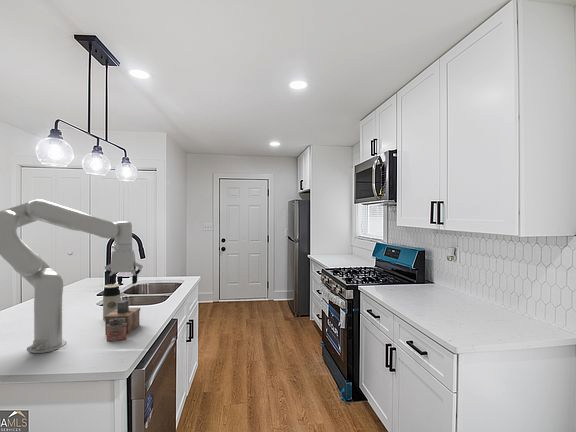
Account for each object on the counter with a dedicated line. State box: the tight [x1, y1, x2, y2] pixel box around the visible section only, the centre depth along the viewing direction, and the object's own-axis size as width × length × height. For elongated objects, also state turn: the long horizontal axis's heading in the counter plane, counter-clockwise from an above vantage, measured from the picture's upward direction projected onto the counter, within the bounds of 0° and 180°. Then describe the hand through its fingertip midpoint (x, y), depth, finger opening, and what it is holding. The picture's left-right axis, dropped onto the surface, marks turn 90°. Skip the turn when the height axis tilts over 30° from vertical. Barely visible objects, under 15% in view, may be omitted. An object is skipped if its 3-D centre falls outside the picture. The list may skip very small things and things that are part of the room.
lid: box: [104, 299, 141, 319], centre depth 161 cm, size 14×11×6 cm
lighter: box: [105, 318, 128, 343], centre depth 148 cm, size 8×3×10 cm, turn 105°
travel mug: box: [102, 283, 121, 321], centre depth 178 cm, size 8×8×18 cm
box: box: [104, 311, 140, 336], centre depth 161 cm, size 13×10×8 cm
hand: (124, 283), depth 161 cm, fingers open, 9 cm apart
